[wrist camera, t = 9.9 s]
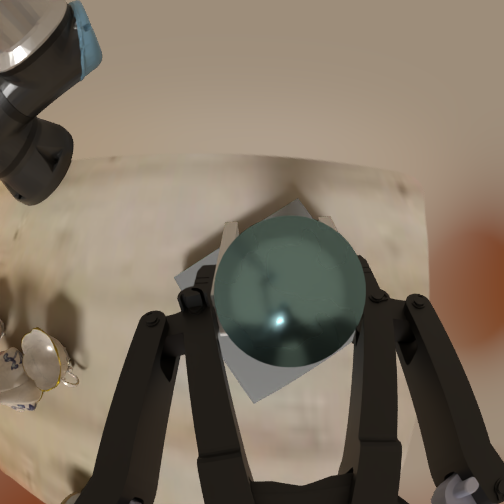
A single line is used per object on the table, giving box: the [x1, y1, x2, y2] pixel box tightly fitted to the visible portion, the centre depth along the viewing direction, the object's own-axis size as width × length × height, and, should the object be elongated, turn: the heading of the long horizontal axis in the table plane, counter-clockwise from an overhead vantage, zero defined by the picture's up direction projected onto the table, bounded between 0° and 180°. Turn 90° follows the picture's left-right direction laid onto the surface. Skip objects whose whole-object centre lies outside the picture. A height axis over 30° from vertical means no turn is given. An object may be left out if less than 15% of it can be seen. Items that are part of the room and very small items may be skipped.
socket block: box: [174, 198, 355, 403], centre depth 30 cm, size 16×16×3 cm
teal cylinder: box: [214, 216, 366, 367], centre depth 15 cm, size 5×5×12 cm
